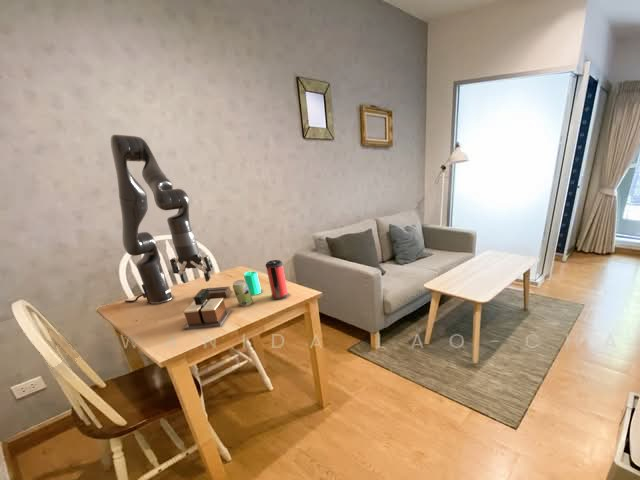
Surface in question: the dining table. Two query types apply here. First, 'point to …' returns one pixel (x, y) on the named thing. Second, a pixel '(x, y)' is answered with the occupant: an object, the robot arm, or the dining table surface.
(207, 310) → the split wooden block
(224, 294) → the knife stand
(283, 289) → the speaker
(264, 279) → the dining table surface
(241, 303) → the beverage can
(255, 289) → the candle
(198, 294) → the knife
